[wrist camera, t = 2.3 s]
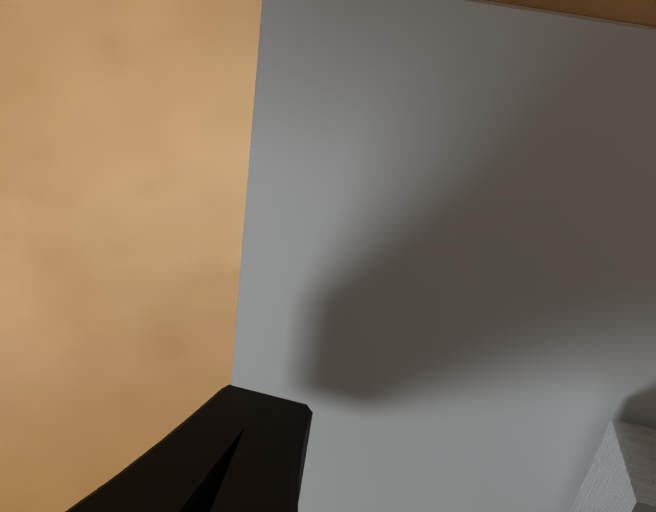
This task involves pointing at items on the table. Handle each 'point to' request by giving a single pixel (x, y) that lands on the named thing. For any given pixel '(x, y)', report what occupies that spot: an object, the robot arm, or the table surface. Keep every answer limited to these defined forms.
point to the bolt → (621, 472)
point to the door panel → (450, 247)
